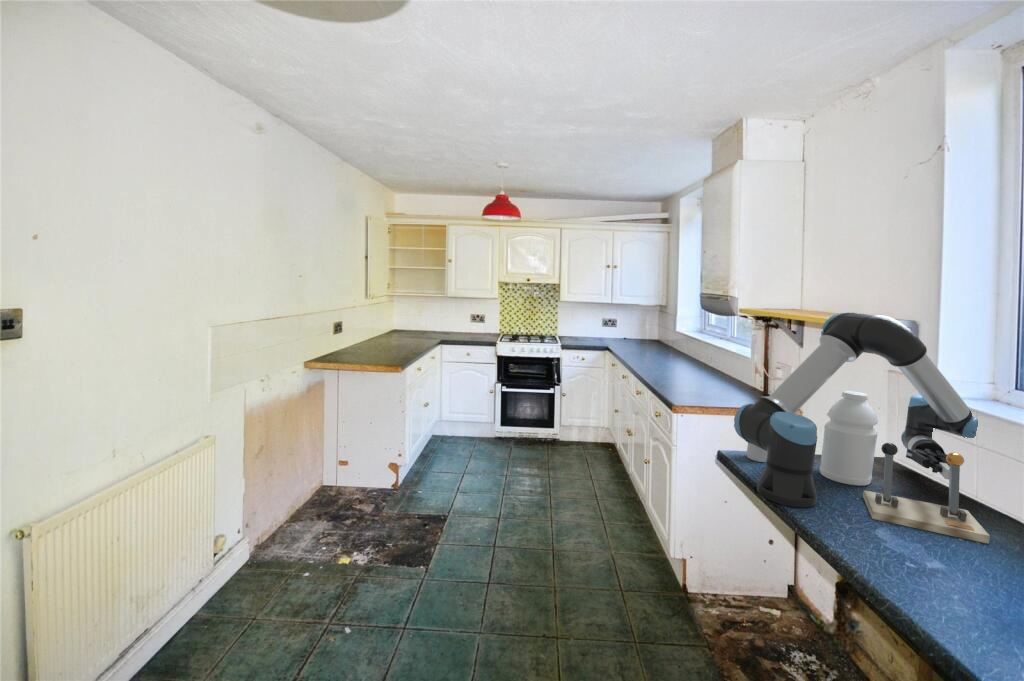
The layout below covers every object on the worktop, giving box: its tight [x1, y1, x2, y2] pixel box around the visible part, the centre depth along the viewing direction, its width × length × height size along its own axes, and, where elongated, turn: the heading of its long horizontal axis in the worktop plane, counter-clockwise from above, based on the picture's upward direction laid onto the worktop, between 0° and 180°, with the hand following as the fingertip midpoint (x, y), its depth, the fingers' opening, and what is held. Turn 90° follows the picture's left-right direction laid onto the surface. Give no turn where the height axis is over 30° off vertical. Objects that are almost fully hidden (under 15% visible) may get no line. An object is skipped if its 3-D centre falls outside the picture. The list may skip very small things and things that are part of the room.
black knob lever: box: [880, 442, 899, 503], centre depth 135 cm, size 4×4×16 cm
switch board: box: [862, 489, 991, 544], centre depth 130 cm, size 23×16×4 cm
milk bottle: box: [746, 442, 767, 463], centre depth 170 cm, size 8×8×20 cm
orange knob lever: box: [946, 452, 965, 516], centre depth 128 cm, size 4×4×16 cm
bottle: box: [819, 390, 879, 486], centre depth 156 cm, size 14×14×28 cm
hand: (949, 474), depth 133 cm, fingers closed
